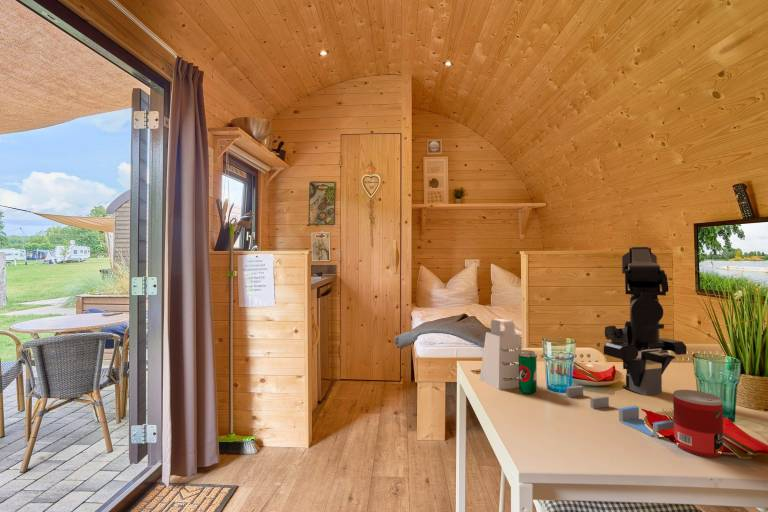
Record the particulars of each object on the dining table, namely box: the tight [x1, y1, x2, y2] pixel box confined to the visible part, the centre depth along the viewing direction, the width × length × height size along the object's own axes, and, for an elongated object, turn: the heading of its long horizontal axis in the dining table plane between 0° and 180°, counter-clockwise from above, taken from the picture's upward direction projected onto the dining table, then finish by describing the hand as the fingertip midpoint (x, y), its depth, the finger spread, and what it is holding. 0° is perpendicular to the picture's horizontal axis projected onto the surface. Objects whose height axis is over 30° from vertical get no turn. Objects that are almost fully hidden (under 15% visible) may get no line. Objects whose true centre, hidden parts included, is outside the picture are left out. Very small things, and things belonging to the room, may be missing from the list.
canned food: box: [672, 389, 724, 458], centre depth 82 cm, size 8×8×11 cm
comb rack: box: [565, 385, 674, 439], centre depth 100 cm, size 6×28×3 cm, turn 16°
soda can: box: [517, 349, 538, 395], centre depth 117 cm, size 5×5×12 cm
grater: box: [479, 318, 523, 391], centre depth 126 cm, size 10×10×20 cm
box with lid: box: [628, 359, 663, 397], centre depth 92 cm, size 5×5×7 cm
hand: (645, 385), depth 92 cm, fingers closed on box with lid, 4 cm apart
